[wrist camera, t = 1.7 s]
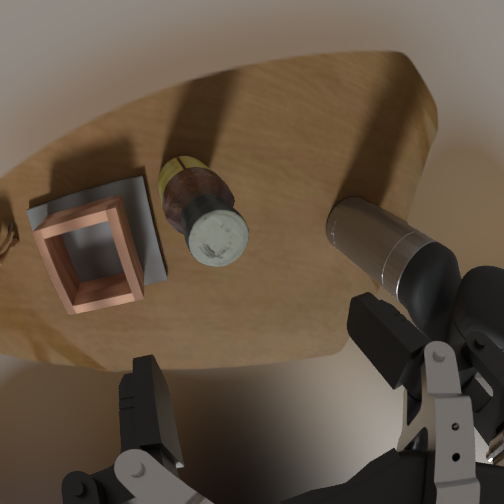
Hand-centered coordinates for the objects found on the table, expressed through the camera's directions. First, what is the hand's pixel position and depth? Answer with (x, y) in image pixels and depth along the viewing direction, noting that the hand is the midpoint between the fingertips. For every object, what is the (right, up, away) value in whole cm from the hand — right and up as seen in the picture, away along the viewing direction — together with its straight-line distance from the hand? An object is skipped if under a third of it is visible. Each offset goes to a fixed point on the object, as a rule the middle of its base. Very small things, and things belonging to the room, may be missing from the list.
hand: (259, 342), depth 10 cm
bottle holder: (-21, +5, +24) cm, 32 cm away
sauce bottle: (-9, +13, +24) cm, 29 cm away
